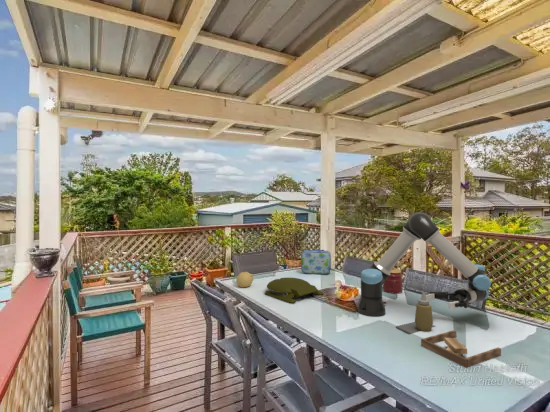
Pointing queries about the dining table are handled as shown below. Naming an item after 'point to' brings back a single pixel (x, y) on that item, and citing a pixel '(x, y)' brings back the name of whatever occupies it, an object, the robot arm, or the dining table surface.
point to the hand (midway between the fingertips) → (436, 301)
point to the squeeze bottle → (423, 314)
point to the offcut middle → (452, 351)
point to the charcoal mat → (409, 328)
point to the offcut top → (455, 345)
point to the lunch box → (316, 262)
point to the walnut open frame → (454, 357)
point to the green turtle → (290, 289)
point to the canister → (393, 282)
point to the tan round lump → (244, 279)
